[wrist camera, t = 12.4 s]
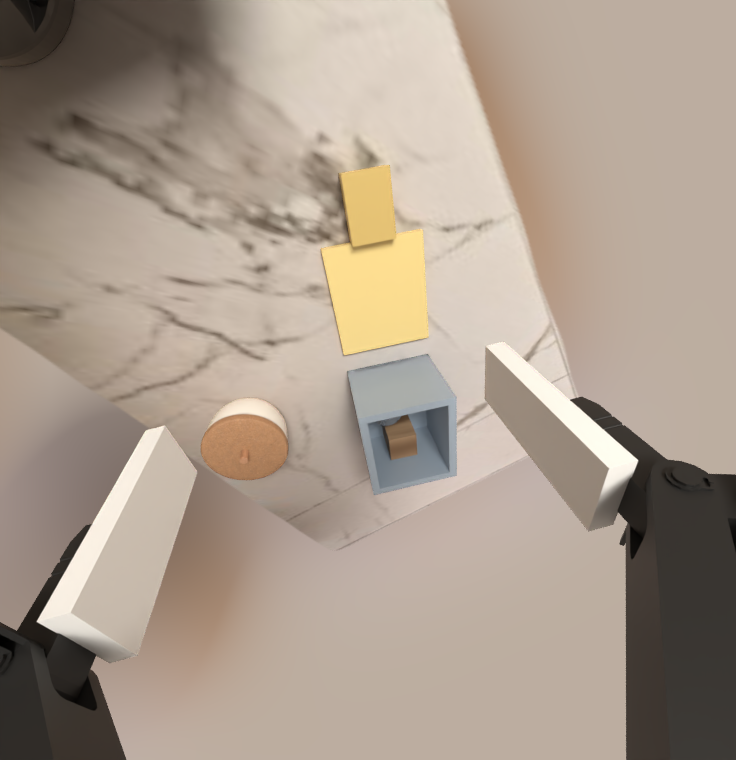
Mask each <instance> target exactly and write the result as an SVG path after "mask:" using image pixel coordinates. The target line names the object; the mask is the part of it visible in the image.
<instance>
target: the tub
mask: <svg viewBox="0 0 736 760" xmlns="http://www.w3.org/2000/svg"><path fill="white" fill-rule="evenodd" d="M347 373H348V378H349V382H350V387H351V392H352V396H353V401H354V406H355V410H356V415H357V420H358V425H359V429H360V434H361V439H362V443H363V448H364V452H365V457H366V461H367V466H368V470H369V475H370V480H371V484H372V489H373V493H374V495H377V494H381V493H385V492H389V491H394V490H398V489H402V488H406V487H411V486H415V485H419V484H423V483H427V482H432V481H436V480H440V479H444V478H449V477H453V476H457V452H456V396H455V394H454V393H453V391H452V390H451V388H450V387H449V385H448V384H447V382H446V381H445V379H444V378H443V376H442V375H441V373H440V372H439V370H438V369H437V367H436V366H435V364H434V363H433V361H432V360H431V358H430V357H429V355H428V354H426V355H421V356H416V357H412V358H407V359H402V360H398V361H393V362H388V363H384V364H379V365H374V366H370V367H365V368H360V369H356V370H351V371H347ZM407 414H408V416H409V419H410V421H411V423H412V426H413V428H414V430H415V433H416V438H417V455H413V456H408V457H404V458H399V459H394V460H391V458H390V454H389V451H388V448H387V445H386V441H385V438H384V435H383V429H382V425H379V424H377V423H376V421H380V420H385V419H389V418H394V417H398V416H403V415H407Z"/></svg>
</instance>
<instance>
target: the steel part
mask: <svg viewBox="0 0 736 760" xmlns="http://www.w3.org/2000/svg"><path fill="white" fill-rule="evenodd" d="M400 418H401V416H398V417H394V418H389V419H385V420H380V421H376V423H377V424H379V425H382V426H389V425H392V424H394V423H396V422H397V421H398V420H399V419H400Z"/></svg>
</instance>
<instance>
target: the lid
mask: <svg viewBox="0 0 736 760" xmlns="http://www.w3.org/2000/svg"><path fill="white" fill-rule="evenodd" d="M338 174H339V179H340V185H341V191H342V197H343V203H344V209H345V215H346V221H347V227H348V233H349V238H350V243H345V244H340V245H335V246H330V247H325V248H321V252H322V256H323V261H324V265H325V270H326V275H327V279H328V284H329V288H330V293H331V298H332V302H333V307H334V312H335V316H336V321H337V325H338V330H339V335H340V339H341V344H342V348H343V353H344V355H348V354H353V353H357V352H362V351H367V350H371V349H376V348H381V347H385V346H390V345H395V344H400V343H404V342H409V341H414V340H418V339H423V338H428V318H427V300H426V281H425V262H424V243H423V230H421V229H417V230H412V231H407V232H402V233H397V234H396V227H395V217H394V206H393V196H392V185H391V175H390V165H382V166H376V167H371V168H365V169H360V170H354V171H349V172H343V173H338Z"/></svg>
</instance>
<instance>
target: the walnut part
mask: <svg viewBox="0 0 736 760" xmlns="http://www.w3.org/2000/svg"><path fill="white" fill-rule="evenodd" d="M382 429H383V435H384V438H385V441H386V445H387V448H388V451H389V454H390V458H391V460H394V459H399V458H404V457H408V456H413V455H417V438H416V433H415V430H414V428H413V426H412V423H411V421H410V419H409V416H408V414H407V415H403V416H401V418H400V419H399V420H398V421H397V422H396V423H394V424H392V425H389V426H382Z"/></svg>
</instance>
